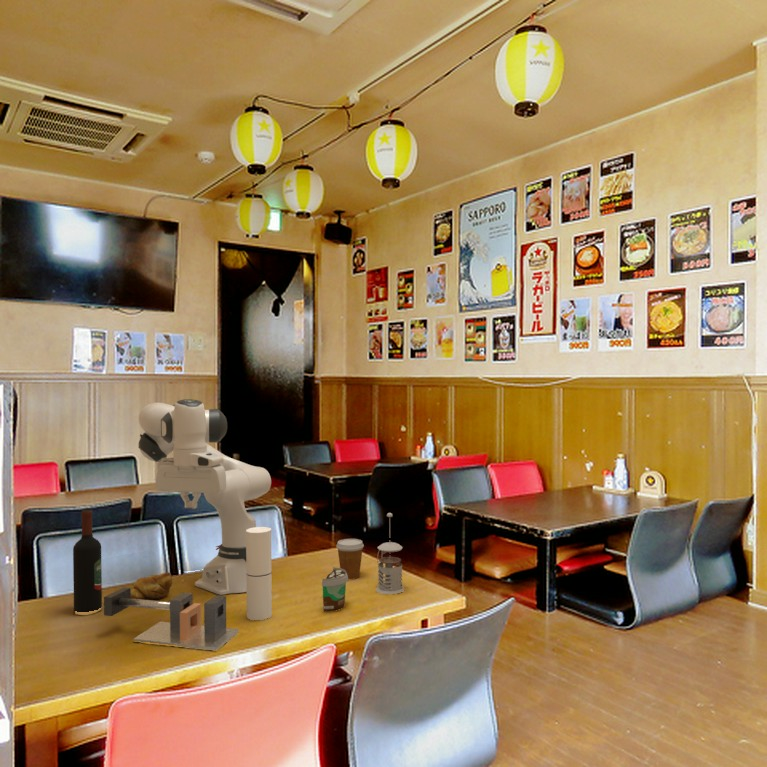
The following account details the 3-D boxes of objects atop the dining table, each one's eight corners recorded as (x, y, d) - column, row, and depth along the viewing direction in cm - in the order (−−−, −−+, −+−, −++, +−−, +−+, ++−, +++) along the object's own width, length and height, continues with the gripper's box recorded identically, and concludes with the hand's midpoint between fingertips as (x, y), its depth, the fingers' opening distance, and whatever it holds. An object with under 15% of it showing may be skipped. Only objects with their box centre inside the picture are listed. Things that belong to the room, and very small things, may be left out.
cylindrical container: (250, 622, 176) (249, 534, 176) (244, 614, 182) (243, 528, 182) (275, 617, 179) (274, 530, 179) (267, 609, 186) (266, 525, 185)
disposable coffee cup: (352, 570, 223) (351, 537, 223) (369, 576, 216) (369, 541, 216) (331, 576, 217) (330, 541, 217) (348, 582, 210) (348, 547, 210)
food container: (342, 614, 181) (342, 580, 181) (322, 613, 182) (321, 579, 182) (352, 599, 193) (352, 567, 193) (333, 598, 194) (333, 566, 194)
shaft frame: (133, 642, 163) (132, 601, 163) (160, 625, 175) (160, 586, 174) (216, 651, 157) (215, 608, 157) (238, 632, 169) (238, 592, 169)
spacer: (180, 639, 162) (179, 612, 162) (194, 628, 169) (194, 603, 169) (186, 640, 162) (186, 613, 162) (201, 629, 169) (200, 603, 169)
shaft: (103, 615, 167) (103, 596, 167) (123, 604, 175) (123, 587, 175) (171, 622, 162) (171, 602, 162) (188, 610, 170) (188, 592, 170)
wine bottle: (74, 608, 188) (73, 509, 188) (102, 604, 191) (101, 506, 191) (73, 617, 181) (71, 514, 181) (101, 613, 184) (100, 511, 184)
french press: (384, 596, 196) (384, 517, 196) (367, 586, 206) (366, 510, 206) (411, 591, 201) (410, 513, 200) (392, 581, 211) (391, 507, 211)
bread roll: (132, 606, 189) (131, 580, 189) (124, 597, 197) (124, 572, 197) (175, 598, 196) (174, 572, 196) (166, 589, 204) (165, 565, 204)
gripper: (150, 458, 172) (151, 508, 172) (217, 460, 167) (217, 511, 167) (164, 456, 178) (164, 504, 178) (228, 457, 173) (229, 507, 173)
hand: (190, 508), depth 173 cm, fingers closed
